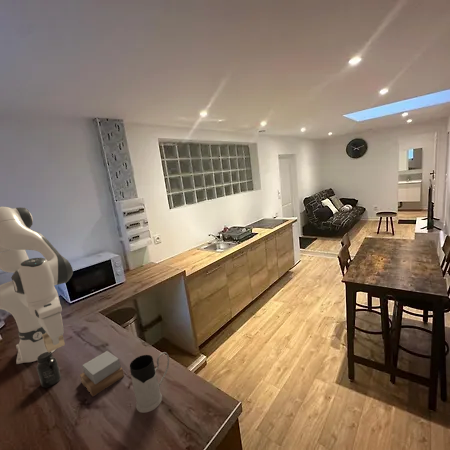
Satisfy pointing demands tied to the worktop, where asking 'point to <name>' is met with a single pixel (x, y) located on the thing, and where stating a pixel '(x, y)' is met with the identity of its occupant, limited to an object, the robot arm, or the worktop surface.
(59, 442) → the worktop surface
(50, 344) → the birch block
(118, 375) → the walnut base slab
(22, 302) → the robot arm
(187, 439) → the worktop surface
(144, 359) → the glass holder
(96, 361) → the slate top slab
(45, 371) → the supplement bottle
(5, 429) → the worktop surface
